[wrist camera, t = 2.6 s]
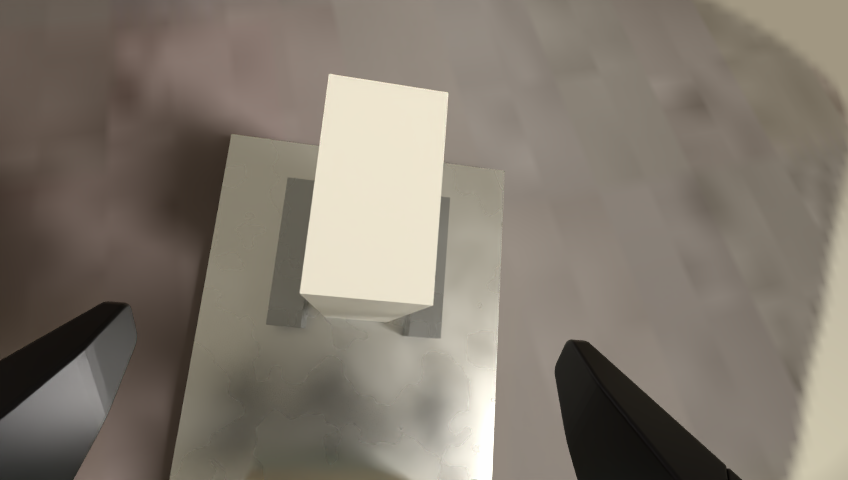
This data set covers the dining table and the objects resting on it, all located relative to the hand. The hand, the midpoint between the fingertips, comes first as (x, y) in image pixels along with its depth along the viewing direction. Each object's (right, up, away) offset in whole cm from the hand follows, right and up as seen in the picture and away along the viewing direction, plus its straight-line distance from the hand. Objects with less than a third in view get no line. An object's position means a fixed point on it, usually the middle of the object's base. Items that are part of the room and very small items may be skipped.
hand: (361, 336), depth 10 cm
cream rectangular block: (-1, +1, +10) cm, 10 cm away
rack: (-2, -4, +10) cm, 10 cm away
